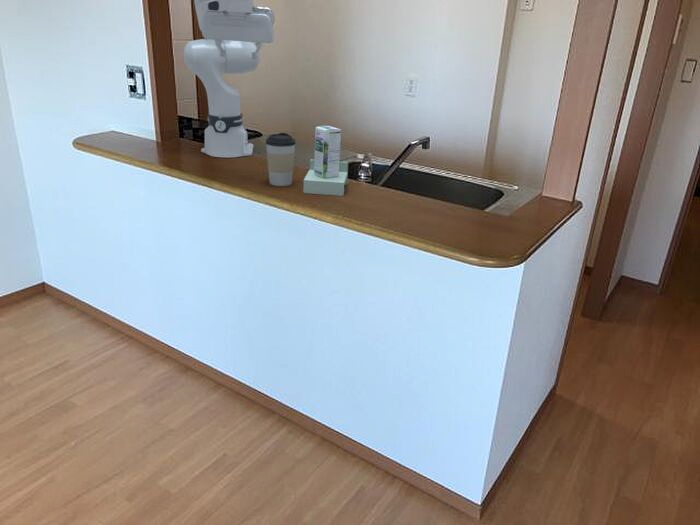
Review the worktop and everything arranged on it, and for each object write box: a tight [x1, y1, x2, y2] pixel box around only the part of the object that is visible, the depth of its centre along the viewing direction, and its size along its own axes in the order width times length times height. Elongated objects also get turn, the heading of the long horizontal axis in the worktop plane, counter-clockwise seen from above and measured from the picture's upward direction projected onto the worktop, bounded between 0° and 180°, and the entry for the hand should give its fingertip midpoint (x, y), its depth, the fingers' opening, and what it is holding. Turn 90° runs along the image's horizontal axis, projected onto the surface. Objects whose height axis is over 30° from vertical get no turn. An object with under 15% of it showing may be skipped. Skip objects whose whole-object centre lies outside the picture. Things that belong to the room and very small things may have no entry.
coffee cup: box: [265, 132, 296, 187], centre depth 170 cm, size 9×9×15 cm
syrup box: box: [313, 125, 342, 178], centre depth 166 cm, size 6×6×14 cm
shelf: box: [302, 159, 349, 197], centre depth 169 cm, size 13×12×7 cm
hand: (238, 57), depth 160 cm, fingers open, 8 cm apart
